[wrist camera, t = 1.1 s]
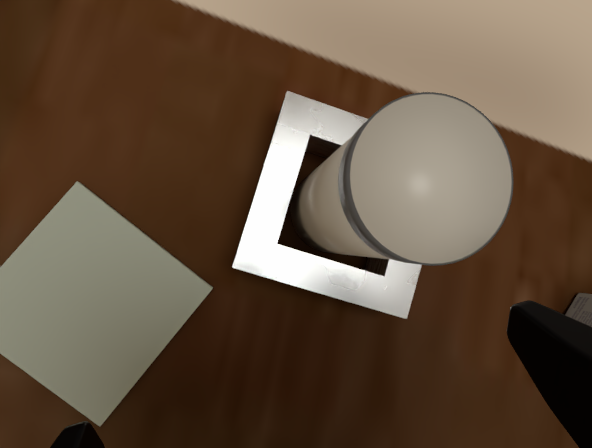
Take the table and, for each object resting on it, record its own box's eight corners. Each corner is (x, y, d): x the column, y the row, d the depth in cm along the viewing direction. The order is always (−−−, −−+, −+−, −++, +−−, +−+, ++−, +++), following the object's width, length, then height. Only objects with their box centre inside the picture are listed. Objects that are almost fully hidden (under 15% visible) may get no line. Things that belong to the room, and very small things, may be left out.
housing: (383, 308, 25) (406, 319, 22) (232, 264, 24) (232, 267, 21) (424, 161, 26) (453, 148, 23) (279, 111, 25) (287, 90, 22)
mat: (213, 287, 24) (212, 288, 24) (102, 423, 23) (99, 426, 23) (79, 182, 23) (77, 181, 23) (-41, 318, 22) (-47, 319, 22)
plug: (389, 205, 26) (544, 168, 13) (338, 271, 25) (447, 300, 12) (325, 151, 25) (419, 57, 13) (271, 217, 25) (312, 189, 12)
